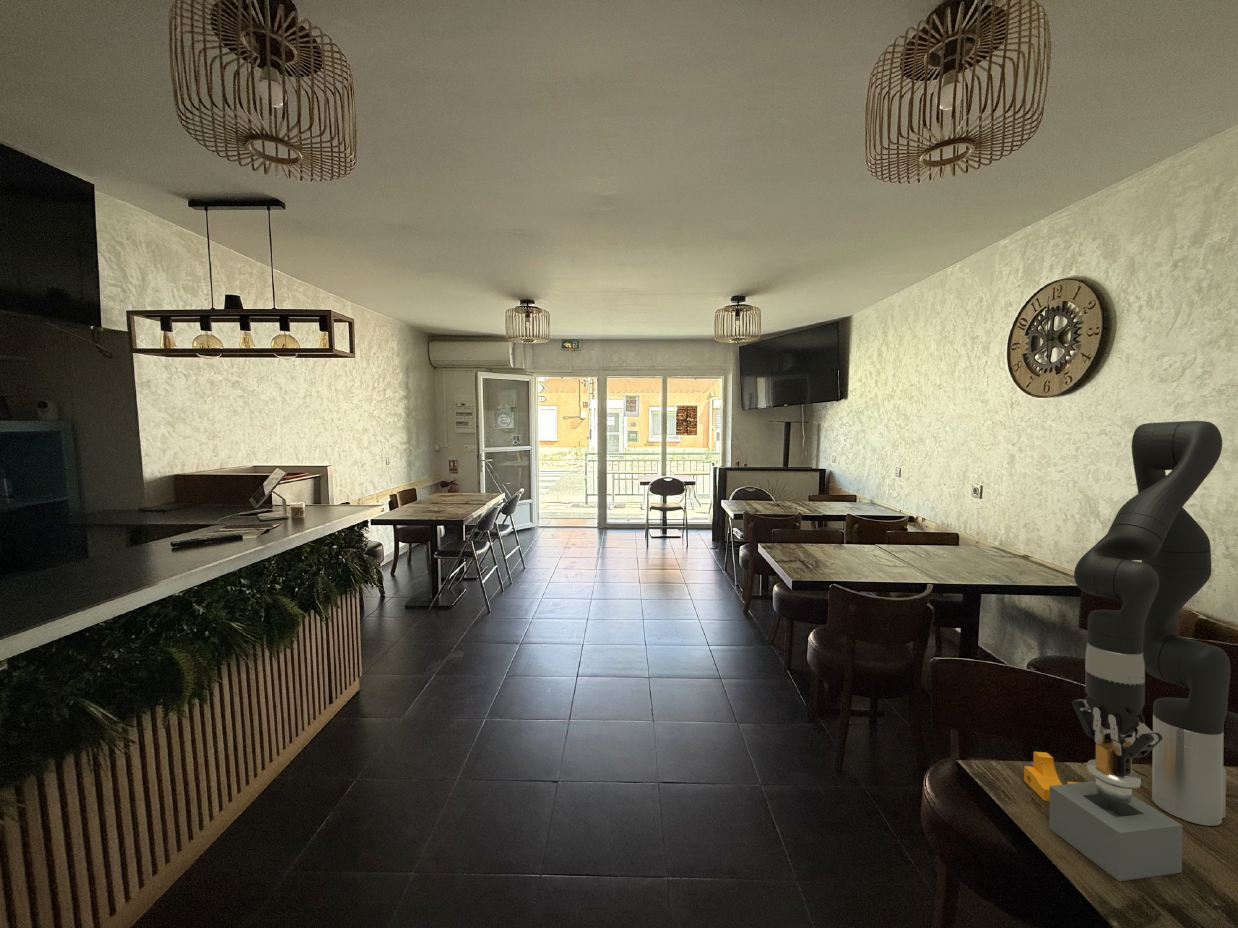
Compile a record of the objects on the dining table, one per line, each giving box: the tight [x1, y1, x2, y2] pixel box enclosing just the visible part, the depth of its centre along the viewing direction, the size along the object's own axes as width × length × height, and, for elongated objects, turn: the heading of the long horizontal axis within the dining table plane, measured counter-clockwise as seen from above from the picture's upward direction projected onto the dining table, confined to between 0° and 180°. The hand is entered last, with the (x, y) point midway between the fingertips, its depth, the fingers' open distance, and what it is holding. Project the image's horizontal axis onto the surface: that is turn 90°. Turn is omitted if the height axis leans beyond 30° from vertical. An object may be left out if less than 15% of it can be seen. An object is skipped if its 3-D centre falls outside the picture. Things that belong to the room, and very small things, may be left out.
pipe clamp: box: [1023, 751, 1081, 802], centre depth 104 cm, size 12×4×6 cm, turn 172°
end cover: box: [1086, 742, 1142, 803], centre depth 91 cm, size 7×7×9 cm
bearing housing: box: [1048, 780, 1184, 882], centre depth 91 cm, size 12×12×8 cm
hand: (1113, 770), depth 91 cm, fingers closed on end cover
